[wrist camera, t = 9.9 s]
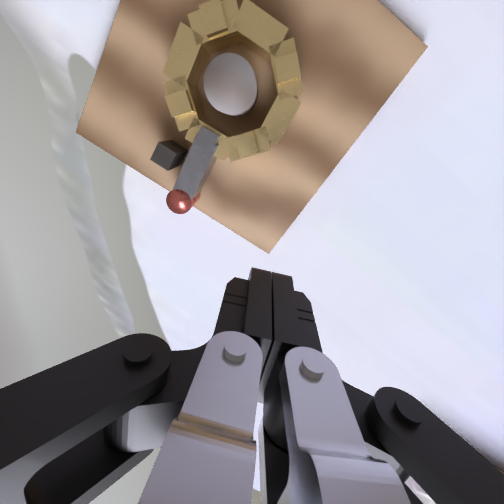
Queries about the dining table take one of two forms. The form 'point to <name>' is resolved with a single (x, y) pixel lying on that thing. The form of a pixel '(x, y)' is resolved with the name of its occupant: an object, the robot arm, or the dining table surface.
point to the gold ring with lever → (188, 100)
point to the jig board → (313, 136)
